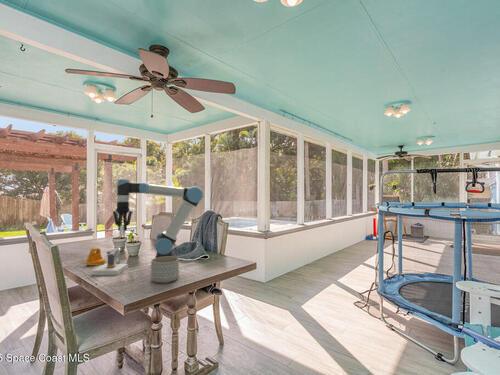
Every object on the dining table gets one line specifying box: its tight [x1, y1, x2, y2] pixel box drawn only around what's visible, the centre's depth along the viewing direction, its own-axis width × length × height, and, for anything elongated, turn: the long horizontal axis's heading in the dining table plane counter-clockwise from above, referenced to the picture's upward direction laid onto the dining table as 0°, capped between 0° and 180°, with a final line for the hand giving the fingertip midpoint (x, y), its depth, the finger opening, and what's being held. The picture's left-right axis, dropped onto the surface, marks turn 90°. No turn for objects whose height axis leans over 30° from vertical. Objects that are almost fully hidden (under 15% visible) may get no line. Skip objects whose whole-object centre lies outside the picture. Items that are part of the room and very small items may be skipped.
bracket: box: [85, 247, 106, 267], centre depth 198 cm, size 11×7×12 cm, turn 146°
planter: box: [150, 255, 180, 284], centre depth 165 cm, size 16×16×13 cm
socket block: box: [91, 263, 129, 276], centre depth 181 cm, size 16×16×3 cm
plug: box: [106, 253, 116, 268], centre depth 181 cm, size 5×5×12 cm
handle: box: [106, 246, 121, 264], centre depth 184 cm, size 2×16×14 cm, turn 1°
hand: (122, 235), depth 183 cm, fingers closed
